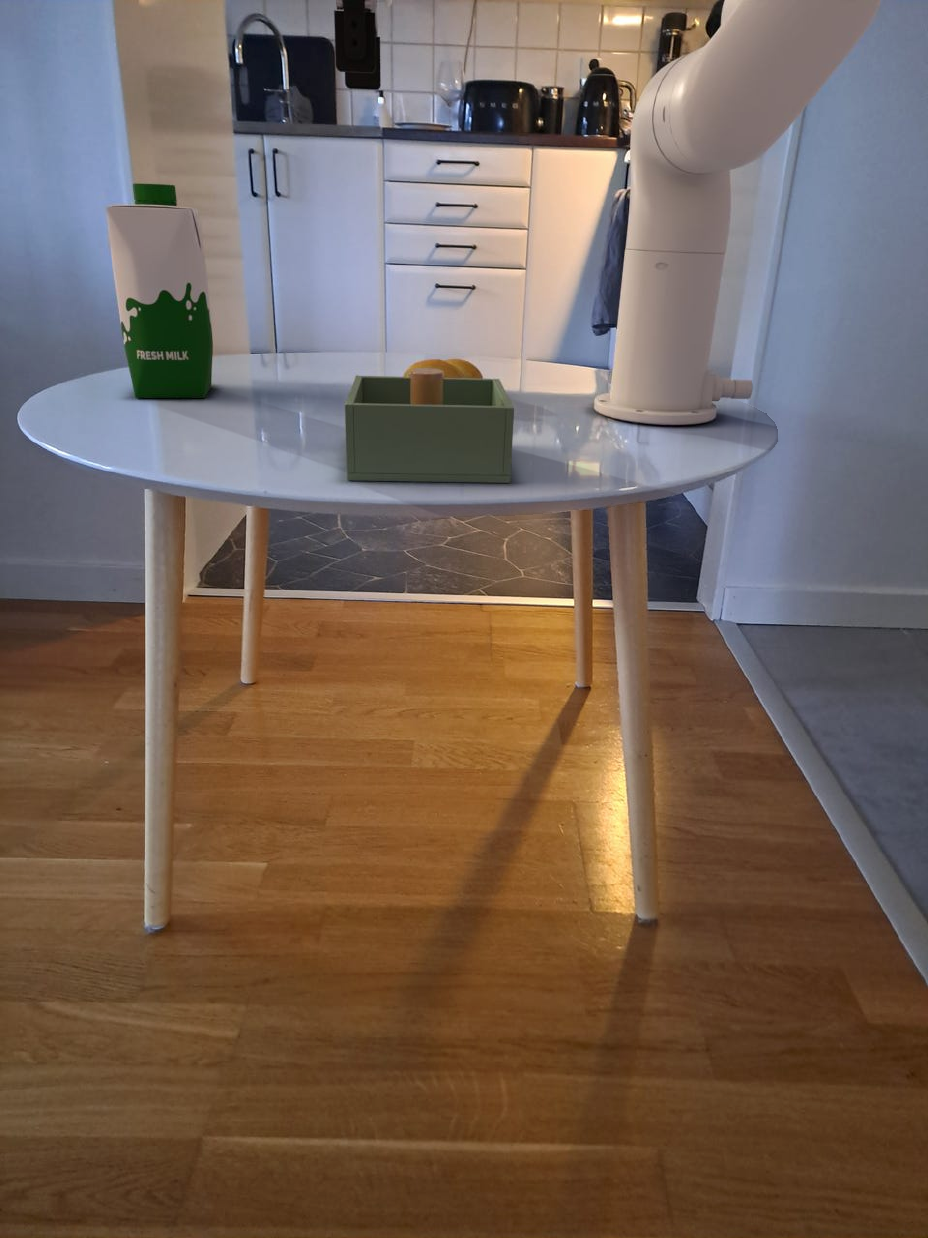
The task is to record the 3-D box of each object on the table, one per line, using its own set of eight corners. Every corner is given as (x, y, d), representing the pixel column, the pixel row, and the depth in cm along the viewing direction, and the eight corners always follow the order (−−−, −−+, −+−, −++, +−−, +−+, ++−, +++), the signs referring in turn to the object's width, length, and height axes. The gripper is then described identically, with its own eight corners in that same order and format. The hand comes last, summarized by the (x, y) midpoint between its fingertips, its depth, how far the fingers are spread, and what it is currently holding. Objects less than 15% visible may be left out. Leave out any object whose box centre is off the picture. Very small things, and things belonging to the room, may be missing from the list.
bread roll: (496, 395, 94) (498, 358, 93) (440, 404, 88) (441, 365, 87) (444, 384, 99) (445, 349, 98) (388, 392, 94) (388, 355, 92)
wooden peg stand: (472, 442, 71) (475, 363, 69) (478, 467, 64) (482, 380, 61) (378, 440, 71) (377, 361, 68) (374, 465, 64) (372, 378, 61)
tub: (496, 443, 74) (499, 378, 71) (510, 483, 63) (514, 407, 60) (357, 441, 73) (355, 375, 71) (346, 480, 62) (344, 404, 60)
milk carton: (220, 384, 95) (202, 186, 86) (212, 400, 87) (191, 183, 78) (139, 384, 93) (112, 183, 85) (123, 400, 85) (92, 179, 77)
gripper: (401, -231, 57) (401, 66, 64) (404, -135, 73) (404, 96, 80) (290, -239, 57) (303, 61, 64) (317, -140, 72) (325, 92, 80)
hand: (359, 80), depth 72 cm, fingers open, 9 cm apart
